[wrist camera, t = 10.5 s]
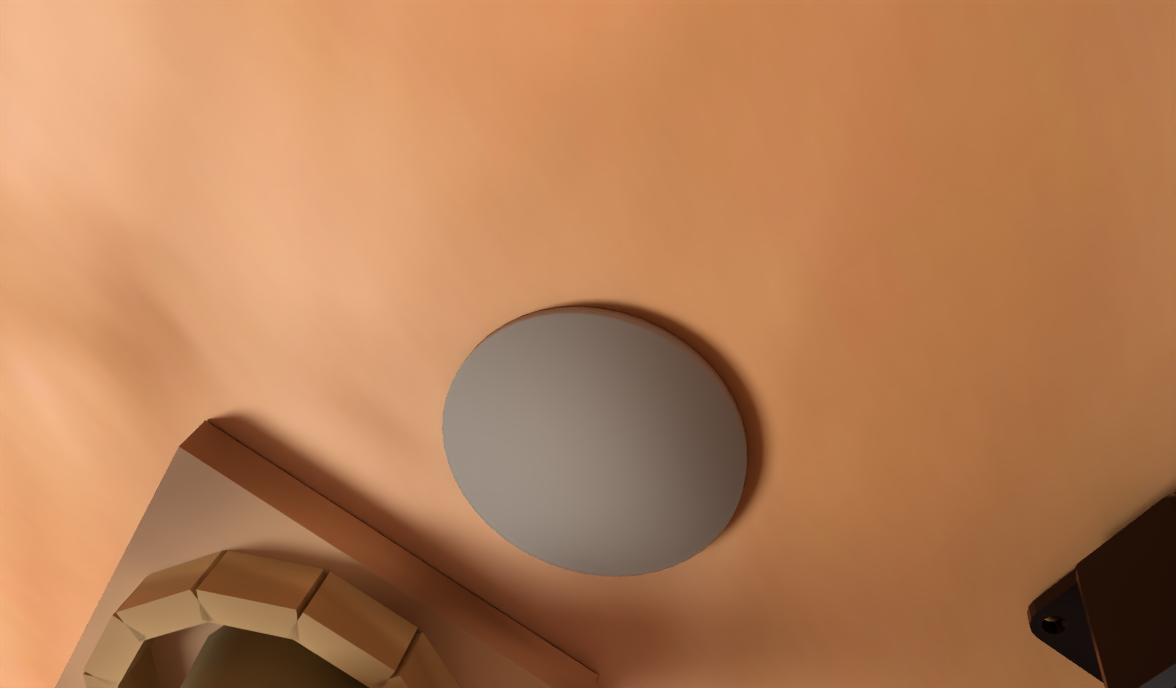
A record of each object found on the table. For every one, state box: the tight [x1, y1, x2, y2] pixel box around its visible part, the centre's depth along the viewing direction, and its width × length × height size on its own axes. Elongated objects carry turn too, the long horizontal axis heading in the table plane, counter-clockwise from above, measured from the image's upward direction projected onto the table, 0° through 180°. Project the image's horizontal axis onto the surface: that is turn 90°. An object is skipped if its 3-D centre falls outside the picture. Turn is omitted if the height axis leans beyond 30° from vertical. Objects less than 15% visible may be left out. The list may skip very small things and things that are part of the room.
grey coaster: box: [442, 307, 748, 576], centre depth 24 cm, size 7×7×1 cm
